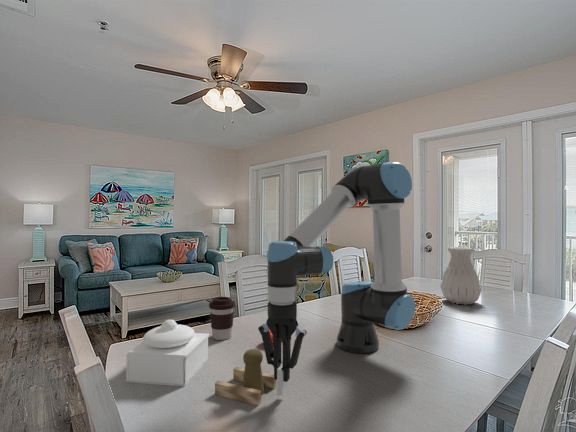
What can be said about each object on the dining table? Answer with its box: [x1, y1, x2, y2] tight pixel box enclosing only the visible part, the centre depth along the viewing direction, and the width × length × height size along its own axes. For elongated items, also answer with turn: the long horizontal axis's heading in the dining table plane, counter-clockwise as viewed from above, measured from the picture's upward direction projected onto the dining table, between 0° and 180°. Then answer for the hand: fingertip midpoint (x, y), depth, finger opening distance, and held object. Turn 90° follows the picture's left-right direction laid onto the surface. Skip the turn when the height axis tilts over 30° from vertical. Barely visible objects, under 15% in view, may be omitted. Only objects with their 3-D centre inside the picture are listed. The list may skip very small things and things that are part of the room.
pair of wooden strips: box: [214, 366, 277, 406], centre depth 92 cm, size 13×10×3 cm
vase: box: [440, 246, 482, 306], centre depth 186 cm, size 20×20×30 cm
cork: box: [242, 348, 265, 396], centre depth 91 cm, size 6×6×11 cm
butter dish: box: [125, 319, 210, 387], centre depth 104 cm, size 18×18×16 cm
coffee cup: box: [208, 296, 236, 341], centre depth 132 cm, size 10×10×15 cm
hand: (281, 392), depth 88 cm, fingers closed
